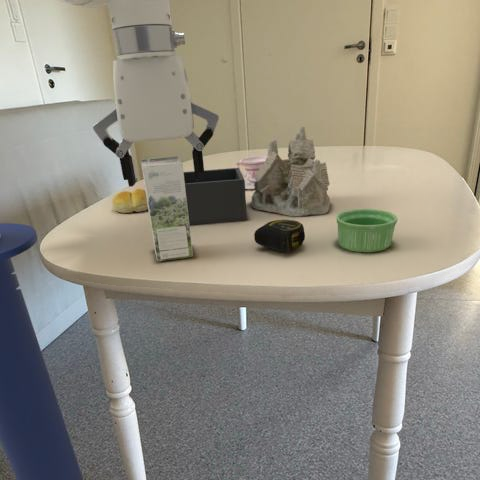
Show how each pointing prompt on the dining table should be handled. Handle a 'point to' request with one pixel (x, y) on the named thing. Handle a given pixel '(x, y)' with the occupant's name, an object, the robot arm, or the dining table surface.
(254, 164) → the pink white round vessel
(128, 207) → the bread roll
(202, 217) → the bin
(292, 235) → the tape measure
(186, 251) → the syrup box
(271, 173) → the ceramic cottage
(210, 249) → the dining table surface
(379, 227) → the ramekin
